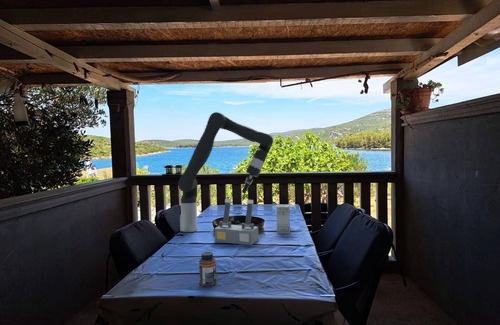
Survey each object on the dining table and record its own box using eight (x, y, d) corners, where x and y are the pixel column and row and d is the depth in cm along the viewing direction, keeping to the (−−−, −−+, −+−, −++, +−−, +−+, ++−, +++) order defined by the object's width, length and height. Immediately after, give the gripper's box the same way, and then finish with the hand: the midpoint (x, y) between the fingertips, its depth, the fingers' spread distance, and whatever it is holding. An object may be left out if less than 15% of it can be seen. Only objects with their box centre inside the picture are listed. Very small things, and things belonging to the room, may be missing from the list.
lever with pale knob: (221, 225, 170) (225, 198, 174) (223, 225, 171) (226, 199, 175) (227, 225, 168) (230, 199, 172) (228, 225, 170) (232, 199, 174)
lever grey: (243, 226, 165) (246, 199, 169) (245, 227, 166) (248, 200, 170) (249, 227, 163) (252, 199, 167) (251, 227, 165) (253, 200, 169)
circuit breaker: (289, 226, 195) (289, 202, 194) (290, 232, 181) (289, 206, 180) (277, 226, 196) (276, 202, 195) (277, 232, 182) (276, 207, 181)
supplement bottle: (200, 280, 117) (199, 250, 116) (216, 280, 117) (215, 250, 117) (199, 287, 111) (198, 256, 110) (216, 286, 111) (215, 255, 111)
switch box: (214, 241, 167) (214, 223, 167) (223, 236, 176) (222, 219, 176) (251, 245, 159) (251, 226, 159) (258, 239, 169) (258, 222, 168)
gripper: (248, 165, 188) (237, 190, 186) (249, 163, 174) (237, 189, 172) (260, 170, 188) (248, 195, 186) (262, 168, 174) (249, 195, 172)
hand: (243, 192), depth 179 cm, fingers open, 8 cm apart
